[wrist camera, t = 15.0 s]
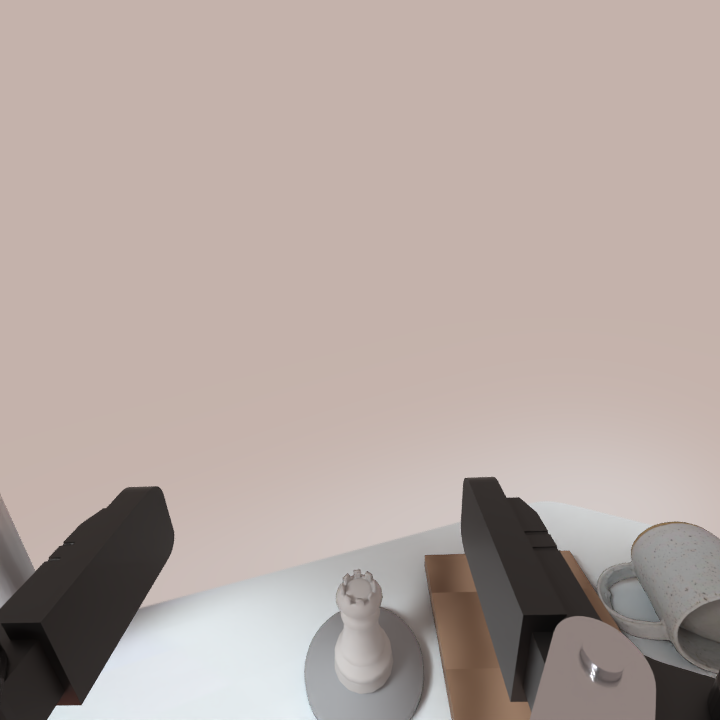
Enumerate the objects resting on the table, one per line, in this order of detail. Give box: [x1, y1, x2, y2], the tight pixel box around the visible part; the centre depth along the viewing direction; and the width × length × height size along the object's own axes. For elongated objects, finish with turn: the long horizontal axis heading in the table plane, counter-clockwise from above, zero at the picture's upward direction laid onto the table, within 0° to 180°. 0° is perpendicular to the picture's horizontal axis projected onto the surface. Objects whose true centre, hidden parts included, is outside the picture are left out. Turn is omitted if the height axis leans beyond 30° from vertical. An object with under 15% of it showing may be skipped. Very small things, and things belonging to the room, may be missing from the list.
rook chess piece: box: [335, 570, 393, 694], centre depth 27 cm, size 4×4×8 cm
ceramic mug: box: [597, 522, 720, 673], centre depth 29 cm, size 11×8×8 cm
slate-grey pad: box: [304, 607, 423, 720], centre depth 28 cm, size 9×9×1 cm
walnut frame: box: [425, 551, 622, 720], centre depth 30 cm, size 14×14×1 cm
